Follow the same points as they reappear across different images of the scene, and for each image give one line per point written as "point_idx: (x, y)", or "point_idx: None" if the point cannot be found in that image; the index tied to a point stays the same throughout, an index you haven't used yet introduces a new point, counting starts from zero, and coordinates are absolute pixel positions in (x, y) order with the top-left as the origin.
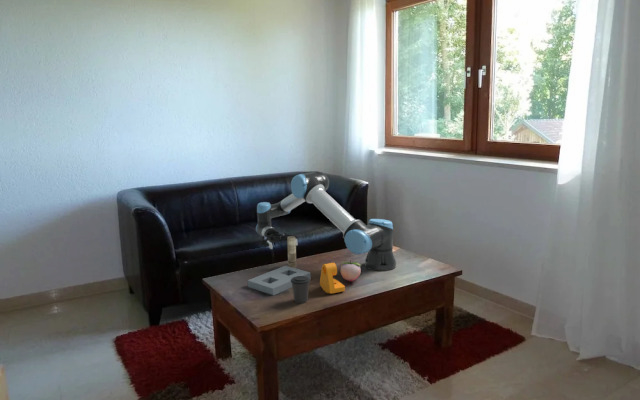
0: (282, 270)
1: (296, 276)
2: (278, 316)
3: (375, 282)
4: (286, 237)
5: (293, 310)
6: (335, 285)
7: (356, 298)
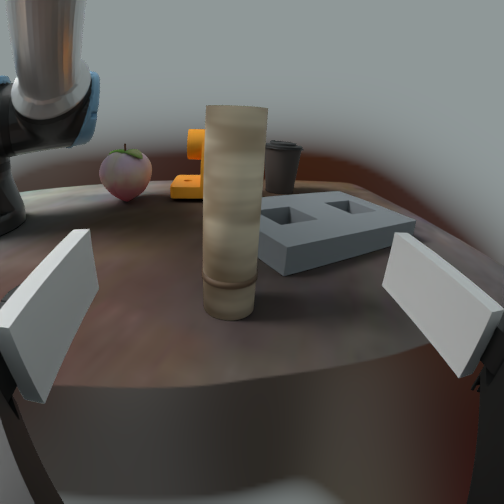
0: (307, 226)
1: (288, 147)
2: (326, 184)
3: (91, 194)
4: (29, 474)
5: (300, 184)
6: (192, 178)
7: None
